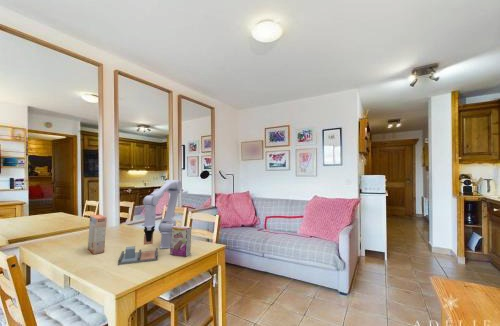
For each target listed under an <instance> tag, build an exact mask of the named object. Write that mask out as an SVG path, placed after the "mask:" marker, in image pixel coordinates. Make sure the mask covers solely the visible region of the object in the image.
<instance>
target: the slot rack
mask: <svg viewBox="0 0 500 326" xmlns="http://www.w3.org/2000/svg"><path fill="white" fill-rule="evenodd" d="M158 253H159V248H158V247H156V248H155V250H149V251H142V249H138V252H136V251H135V257H134V258H129V259H125V251H124V250H123V251H121V253H120V255H119V258H118V261H117V265H118V266H120V265H121V266H122V265H127V264H128V265H129V264H137V263H146V262H148V263H149V262H155V261H158V260H159V259H158V258H159V254H158Z"/></svg>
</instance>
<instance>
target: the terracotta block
mask: <svg viewBox="0 0 500 326" xmlns="http://www.w3.org/2000/svg"><path fill="white" fill-rule="evenodd" d="M153 243H154V234H153V235H152V239H151V242H147V241H146V235H145V233H144V236H143V245H144V246H145V245H153Z"/></svg>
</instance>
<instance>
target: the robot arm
mask: <svg viewBox="0 0 500 326" xmlns="http://www.w3.org/2000/svg"><path fill="white" fill-rule="evenodd" d="M181 189H182V182H181V180H180V179H166V180H165V181H164V182H163V184H162V186H161V187H160V188H156V189H155V190H154V191H153V192H151V193H150V194H149V195H146V196H145V197H144V198H143V200H142V204H143V208H144V221H143V223H144V224H143V223H142V224H141V226H142V227H143V232H144V234H145V235H146V241H147V242H151V239H152V235H153V236H154V231H156V212H157V208H156V207H157V205H158V203H159V201H160V199H161V198H162V197H163V196H165V195H164V194H165V193H166V192H168V193H169V198H168V199H169V200H168V204H167V208H166V211H165V215H164V217H163V218H161V220H160V222H159V225H158V232H159V233H160V244H159V249H160V250H161V249H171V227H173V226H176V225H177V221H176V219H174V216H175V210H176V206H177V202H178V197H179V194H180V193H181Z"/></svg>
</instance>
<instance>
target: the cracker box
mask: <svg viewBox="0 0 500 326" xmlns="http://www.w3.org/2000/svg"><path fill="white" fill-rule="evenodd" d="M107 219H108V218H107V216H104V215H102V214H91V215H90V216H89V227H88V239H87V240H88V241H87V250H88V251H89V252H91V254H92V255H98V254H103V253H105V248H106V247H105V246H106V244H105V243H106V235H107V234H106V233H107V232H106V230H107Z"/></svg>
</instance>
